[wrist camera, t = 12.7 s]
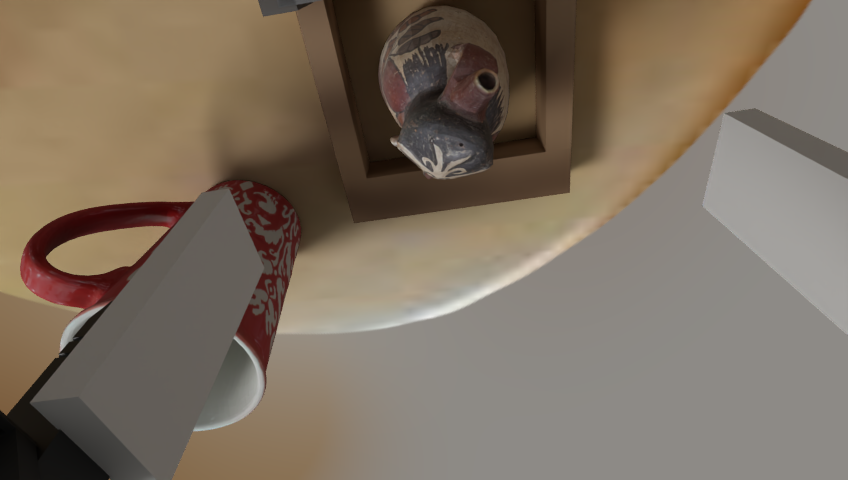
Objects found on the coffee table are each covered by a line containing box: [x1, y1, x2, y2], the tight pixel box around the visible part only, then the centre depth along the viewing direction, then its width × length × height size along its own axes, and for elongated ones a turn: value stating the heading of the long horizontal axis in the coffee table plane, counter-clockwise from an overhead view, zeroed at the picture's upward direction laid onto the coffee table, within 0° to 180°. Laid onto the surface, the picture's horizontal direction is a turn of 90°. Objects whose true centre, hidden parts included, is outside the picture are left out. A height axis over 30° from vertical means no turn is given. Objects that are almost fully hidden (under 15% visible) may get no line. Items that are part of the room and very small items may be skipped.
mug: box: [20, 180, 301, 431], centre depth 25 cm, size 13×9×14 cm
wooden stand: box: [258, 0, 577, 223], centre depth 22 cm, size 18×14×8 cm
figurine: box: [378, 5, 509, 179], centre depth 21 cm, size 7×7×12 cm
